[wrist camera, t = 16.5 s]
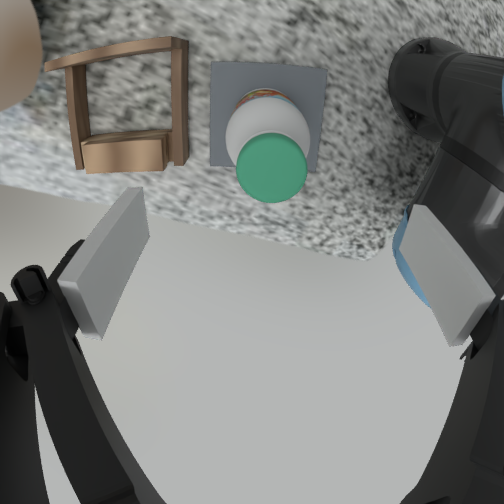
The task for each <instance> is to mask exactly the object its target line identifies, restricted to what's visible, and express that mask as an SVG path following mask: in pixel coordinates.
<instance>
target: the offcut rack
mask: <svg viewBox="0 0 504 504" xmlns="http://www.w3.org/2000/svg"><path fill="white" fill-rule="evenodd" d="M164 51H171V101H172V129H164V130H144V131H130V132H118V133H107V134H98V135H92V136H91V133H90V124H89V114H88V103H87V89H86V67H85V64H89V63H94V62H98V61H103V60H108V59H114V58H120V57H126V56H132V55H139V54H146V53H155V52H164ZM63 68H65V79H66V94H67V106H68V116H69V125H70V132H71V140H72V147H73V153H74V159H75V165H76V170H81V169H84V168H85V169H86V174H94V173H113V172H142V171H164V169H165V168H166V167H167V163H168V162H169V161H174V166H184V164H185V162H186V161H187V159H188V158H189V138H188V41H187V40H183V39H180V38H176V37H172V36H169V37H159V38H151V39H144V40H137V41H131V42H125V43H119V44H114V45H109V46H104V47H100V48H95V49H91V50H87V51H83V52H79V53H75V54H72V55H68V56H65V57H61V58H58V59H55V60H52V61H49V62H46V63H45V72H47V71H52V70H58V69H63Z"/></svg>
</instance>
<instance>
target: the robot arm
mask: <svg viewBox="0 0 504 504" xmlns="http://www.w3.org/2000/svg"><path fill="white" fill-rule="evenodd" d="M389 92H390V97H391V101H392V104H393V106H394V108H395V110H396V112H397V114H398V116H399V117H400V119H401V120H402V121H403V122H404V124H405V125H406V126H407V127H409V128H410V129H411V130H412V131H414V132H415V133H417V134H419V135H421V136H422V137H424V138H426V139H429V140H432V141H435V142H441V144H440V147H439V148H438V150H437V152H436V155H435V157H434V159H433V161H432V163H431V165H430V167H429V169H428V171H427V173H426V175H425V177H424V179H423V181H422V183H421V185H420V187H419V189H418V190H417V192H416V194H415V196H414V198H413V200H412V202H411V203H410V205H407V207H406V208H405V211H404V217H403V219H402V221H401V223H400V225H399V226H398V228H397V230H396V232H395V234H394V237H393V243H392V249H393V254H394V257H395V259H396V264H397V266H398V268H399V270H400V272H401V274H402V276H403V278H404V279H405V281H406V282H407V284H408V285H409V286H410V287H411V289H412V290H413V291H414V292H415V294H416V295H417V296H418V297H419V298H420V299H421V300H422V301H423V302H424V303H425V304H426V305H427V306H428V307H430V308H431V309H432V311H433V313H434V315H435V317H436V319H437V321H438V323H439V325H440V327H441V329H442V332H443V334H444V336H445V338H446V340H447V342H448V345H449V346H450V347H451V346H457V345H462V344H463V343H464V341H465V340H466V339H467V338H468V336H469V335H470V336H471V338H472V340H473V341H472V342H471V344H470V345H469V346H468V347H467V349H466V350H465V351H464V353H463V354H462V355H461V357H460V359H462V358H463V357H464V356H466V359H465V361H464V362H465V363H464V367H463V371H462V374H461V378H460V381H459V384H458V388H457V391H456V394H455V397H454V400H453V403H452V406H451V409H450V412H449V415H448V417H447V420H446V423H445V425H444V428H443V430H442V433H441V435H440V438H439V440H438V442H437V445H436V447H435V449H434V452H433V454H432V456H431V458H430V460H429V462H428V464H427V467H426V468H425V471H424V473H423V475H422V476H421V479H420V480H419V482H418V484H417V485H416V486H415V488H414V489H413V490H412V491H411V492H410V493H408V494H407V495H406V496H405V498H404V499H403V500H402V501H401V503H400V504H504V58H501V57H495V56H488V55H481V54H473V53H468V52H466V51H464V50H463V49H461V48H460V47H458V46H456V45H455V44H453V43H451V42H449V41H446V40H443V39H439V38H419V39H415V40H412V41H410V42H408V43H407V44H405V45H404V46H403V47H402V48H401V49H400V50H399V51H398V52H397V54H396V55H395V57H394V59H393V61H392V64H391V67H390V71H389ZM149 237H150V235H149V229H148V223H147V216H146V209H145V202H144V194H143V187H128V188H127V189H126V190H125V191H124V193H123V194H122V195H121V196H120V197H119V198H118V200H117V201H116V202H115V203H114V204H113V206H112V207H111V208H110V209H109V211H108V212H107V213H106V214H105V216H104V217H103V218H102V219H101V220H100V222H99V223H98V224H97V226H96V227H95V228H94V229H93V231H92V232H91V233H90V235H89V236H88V237H87V239H86V240H79V241H78V242H77V243H75V244H74V245H73V246H72V247H71V248H70V249H69V250H68V251H67V253H66V254H65V256H64V257H63V258H62V260H61V261H60V263H59V264H58V265H57V267H56V268H55V269H54V271H53V272H52V274H51V275H50V277H49V278H48V279H47V277H46V275H45V273H44V270H43V268H42V267H41V266H38V265H30V266H28V267H25V268H23V269H21V270H20V271H19V272H17V273H16V274H15V276H14V277H13V279H12V280H11V287H12V289H13V291H14V293H15V295H16V297H17V298H18V301H11V302H8V301H7V299H6V297H5V295H4V294H3V293H2V292H0V504H50V503H49V499H48V495H47V491H46V486H45V481H44V476H43V470H42V465H41V458H40V451H39V444H38V434H37V424H36V410H35V387H36V391H37V394H38V398H39V402H40V405H41V408H42V411H43V415H44V417H45V421H46V424H47V427H48V430H49V433H50V435H51V438H52V441H53V443H54V446H55V449H56V451H57V454H58V456H59V459H60V461H61V463H62V466H63V468H64V470H65V472H66V475H67V477H68V479H69V481H70V483H71V485H72V487H73V489H74V491H75V493H76V495H77V497H78V499H79V501H80V503H81V504H166V503H165V502H164V500H163V499H162V498H161V497H160V495H159V494H158V493H157V491H156V490H155V488H154V487H153V485H152V484H151V482H150V481H149V480H148V478H147V477H146V475H145V474H144V472H143V470H142V469H141V467H140V466H139V464H138V463H137V461H136V459H135V458H134V456H133V455H132V453H131V451H130V449H129V448H128V446H127V444H126V443H125V441H124V439H123V437H122V436H121V434H120V432H119V430H118V428H117V426H116V425H115V423H114V421H113V419H112V417H111V415H110V413H109V411H108V409H107V407H106V405H105V403H104V401H103V399H102V397H101V394H100V392H99V390H98V388H97V386H96V384H95V381H94V379H93V377H92V374H91V372H90V370H89V367H88V365H87V363H86V360H85V358H84V355H83V352H82V350H81V347H80V344H79V342H78V339H77V338H76V336H75V334H76V332H77V330H78V328H80V330H81V331H82V333H83V335H84V337H86V338H92V339H97V340H102V339H103V336H104V334H105V332H106V329H107V327H108V324H109V322H110V320H111V317H112V315H113V313H114V310H115V308H116V306H117V304H118V301H119V299H120V297H121V295H122V292H123V290H124V288H125V286H126V284H127V282H128V280H129V278H130V275H131V273H132V271H133V269H134V267H135V265H136V263H137V261H138V259H139V257H140V255H141V253H142V251H143V249H144V247H145V245H146V243H147V241H148V239H149Z"/></svg>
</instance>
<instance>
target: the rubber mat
mask: <svg viewBox="0 0 504 504" xmlns="http://www.w3.org/2000/svg"><path fill="white" fill-rule="evenodd" d="M326 79H327V69H320V68H312V67H304V66H295V65H285V64H272V63H255V62H211V86H210V166H226V167H236V166H235V164H234V163H233V162H232V160H231V158H230V156H229V154H228V151H227V147H226V129H227V125H228V122H229V119H230V117H231V115H232V112H233V110H234V108H235V106H236V105H237V103H238V102H239V100H240V99H241V98H242V97H243V96H244V95H245V94H247V93H248V92H250V91H252V90H255V89H260V88H270V89H274V90H277V91H280V92H281V93H283V94H284V95H286V96H287V97H288V98H289V99H290V100H291V101H292V102H293V103H294V104H295V106H296V107H297V108H298V109H299V111H300V112H301V113H302V115H303V117H304V118H305V120H306V122H307V125H308V128H309V132H310V148H309V152H308V155H307V157H306V161H307V169H308V170H307V171H311V172H316V164H317V157H318V150H319V142H320V134H321V126H322V117H323V108H324V99H325V89H326Z"/></svg>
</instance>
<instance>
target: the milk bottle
mask: <svg viewBox="0 0 504 504" xmlns="http://www.w3.org/2000/svg"><path fill="white" fill-rule="evenodd" d="M226 147H227V151H228V154H229V156H230V158H231V160H232V162H233V163H234V164H235V166H236V174H237V178H238V181H239V183H240V185H241V187H242V188H243V190H244V191H245V192H246V193H247V194H248V195H250V196H251V197H252V198H254V199H256V200H259V201H262V202H266V203H277V202H282V201H285V200H287V199H289V198H291V197H293V196H294V195H295V194H297V193H298V192H299V190H300V189H301V188H302V186H303V185H304V182H305V180H306V177H307V170H308V169H307V161H306V157H307V155H308V152H309V148H310V132H309V128H308V125H307V122H306V120H305V118H304V117H303V115H302V113H301V112H300V111H299V109H298V108H297V107H296V106H295V104H294V103H293V102H292V101H291V100H290V99H289V98H288V97H287V96H286V95H284V94H283V93H281V92H280V91H277V90H274V89H270V88H260V89H255V90H252V91H250V92H248V93H247V94H245V95H244V96H243V97H242V98H241V99H240V100H239V102H238V103H237V105H236V106H235V108H234V110H233V112H232V115H231V117H230V119H229V122H228V125H227V129H226Z"/></svg>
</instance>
